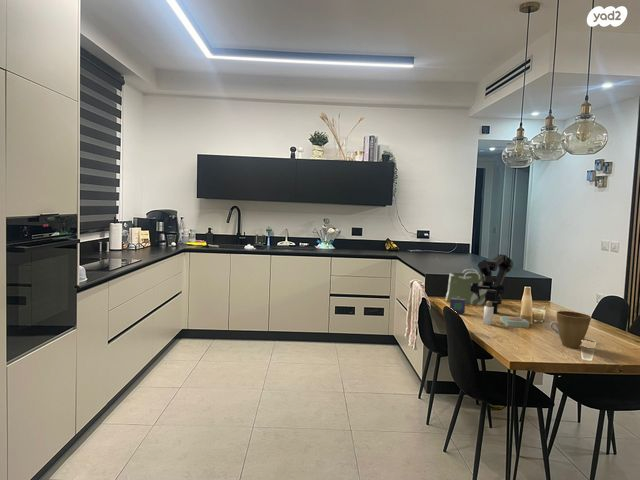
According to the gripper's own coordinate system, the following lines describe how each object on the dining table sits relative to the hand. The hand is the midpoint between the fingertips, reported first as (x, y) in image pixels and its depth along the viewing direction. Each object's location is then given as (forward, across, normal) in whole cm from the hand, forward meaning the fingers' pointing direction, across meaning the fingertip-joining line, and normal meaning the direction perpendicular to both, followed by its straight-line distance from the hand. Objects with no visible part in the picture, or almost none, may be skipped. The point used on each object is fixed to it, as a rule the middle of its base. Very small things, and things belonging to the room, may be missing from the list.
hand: (487, 300), depth 266 cm
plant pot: (+33, +36, -16) cm, 51 cm away
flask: (0, -16, +18) cm, 24 cm away
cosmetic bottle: (+13, 0, +4) cm, 14 cm away
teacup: (+22, +37, -4) cm, 43 cm away
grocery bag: (-27, -5, +45) cm, 53 cm away
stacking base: (+9, +15, +8) cm, 20 cm away
